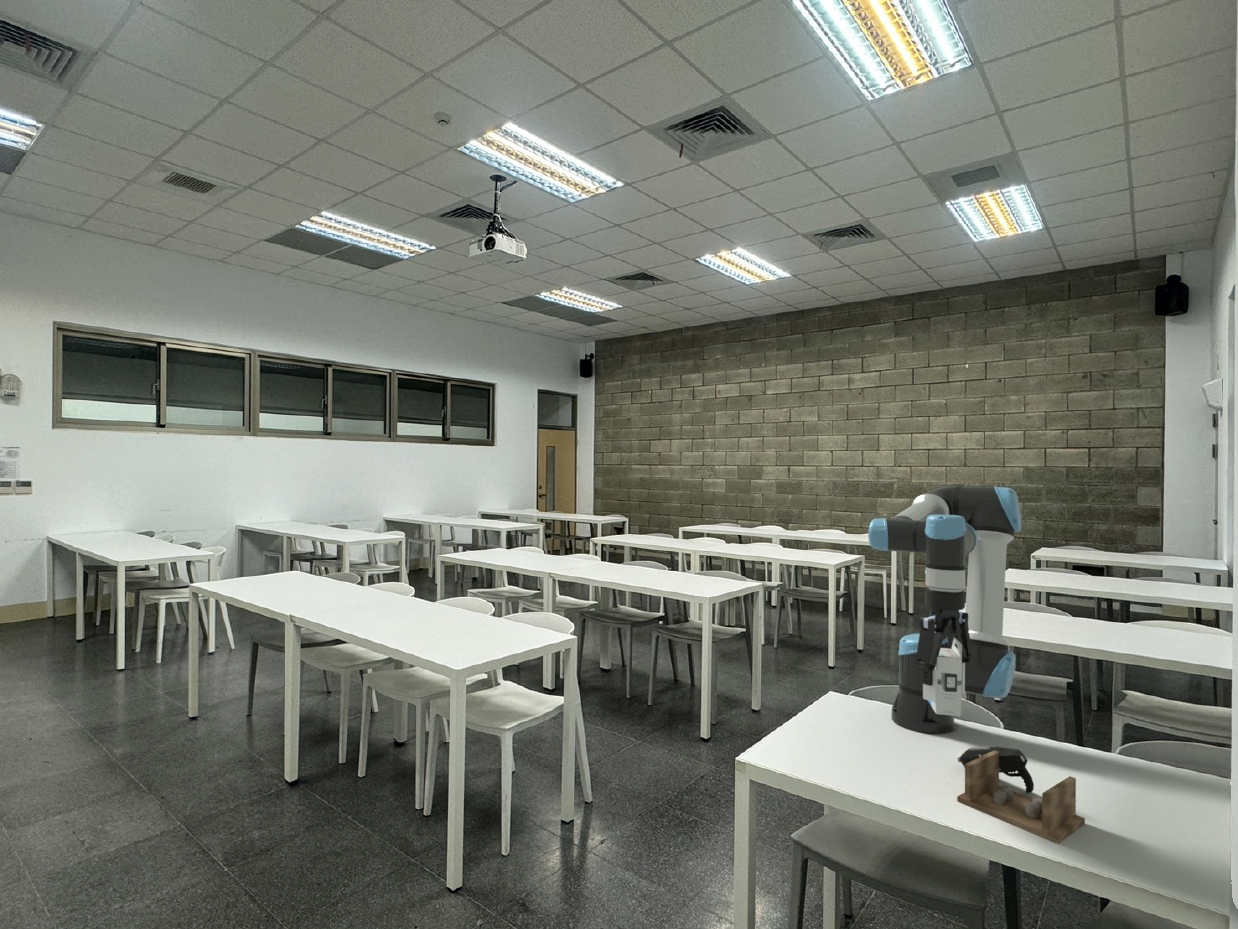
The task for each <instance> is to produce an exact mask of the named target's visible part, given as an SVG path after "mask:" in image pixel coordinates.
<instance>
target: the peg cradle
mask: <svg viewBox="0 0 1238 929" xmlns="http://www.w3.org/2000/svg"><path fill="white" fill-rule="evenodd" d="M1076 778H1077V777H1073V776H1071V775H1070V776H1068V777H1066V778H1065V779H1063V780H1061V781H1060V782H1058V783H1056V784H1055V785H1053V786H1052V787H1050V788H1048V789H1047V790H1045V791H1044V792H1042V793H1041V796H1042V797H1041V798H1038V797H1035V798H1033V797H1030V796H1028V795H1026V794H1023V793H1020V792H1017V791H1015V790H1014V789H1013V788H1012V787H1010V786H1008V785H1000V773H999V752H998V751H995V750H994V751H991V752H989V753H987V754H985V755H983V756H981V757H979V758H977V759H975V760H973V761H971V762H969V763H967V764H965V767H964V792H962V793H961V794H959V795H957V799H956V800H957V802H959V803H960V804H963V805H965V806H968V807H969V808H972V809H974V810H977V811H979V812H981V813H984V814H987V815H989V816H991V817H994V818H996V819H998V820H1000V821H1002V822H1005V823H1007V824H1010V825H1012V826H1015V827H1018V828H1020V829H1022V830H1024V831H1027V832H1029V833H1031V834H1033V835H1037V836H1038V837H1040V838H1044V839H1045V840H1048V841H1050V842H1052V843H1055V844H1059V843H1061V842H1062V841H1063V840H1065V839H1066V838H1067V837H1070V835H1071V834H1073V833H1074V832H1075V831H1077V830H1078V829H1080V828H1081V827H1082V826H1084V825H1085V823H1086V822H1085V821H1086V818H1085V817H1082V816H1080V815H1077V813H1076V812H1077V809H1076V808H1077V805H1076V804H1077V779H1076Z"/></svg>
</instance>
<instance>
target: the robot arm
mask: <svg viewBox="0 0 1238 929" xmlns="http://www.w3.org/2000/svg"><path fill="white" fill-rule="evenodd" d="M1021 531H1022V515H1021V508H1020V503H1019V497H1018V494H1017V492H1016V491H1015V490H1014V489H1013V488H1011V487H1002V486H1000V487H999V486H996V485H994V486H966V485H965V486H959V485H953V486H952V485H951V486H945V487H944V486H943V487H940V488H935V489H933V490H929V491H927V492H924V493H923V494H921V495H919V496H917V497H916V498H915V499H914V500H913V502H912V504H911V506H909V507H907V508H906V509H904V510H903V511H901V512H899V513H898V514H896V515H895V516H893V517H892V518H885V517H883V518H882V517H881V518H873V519H872V520H871V521H870V523H869V527H868V542H869V545H870V547H871V548H872V549H874V550H879V551H885V552H899V553H900V552H901V553H912V554H913V553H916V554H924V555H925V571H924V573H925V585H926V586H927V587H926V589H925V590H924V595H925V596H924V604H925V606H927V607H928V608H930V612H929V615H928V617H924V616H921V617H920V619H919V622H920V623H919V625H920V629H919V633H912V634H911V633H910V634H907V635H904V636H902V638H901V639H900V640H899V648H898V649H899V650H898V652H897V653H898V692H897V695H896V697H895V700H894V702H893V705H892V706H891V707H892V708H891V720H892V721H893V722H894V723H896V725H899V726H901V727H903V728H906V729H909V730H912V731H916V732H921V733H927V734H944V733H945V734H946V733H949V732H952V731H953V730H954V729H955V719H954V718H955V716H951V715H941V714H936V713H935V711H934V710H933V708H932V707H931V705H930V703H929V702H928V700H929V701H932V702H935V703H936V702H937V697H938V670H936V669H935V666H936V663H937V657H938V656H939V652H940V649H941V648H948V649H951V648H952V643H953V638H954V637H955V638H956V639H957V640H958V641H959V642H960V643H961V644H962V693H961V695H965V694H966V693H967V694H972V695H978V696H983V697H984V698H987V697H989V698H995V699H1003V698H1006V697H1007V696H1008V695H1009V692H1010V691H1011V687H1012V683H1013V680H1014V676H1015V672H1016V671H1015V670H1016V659H1017V658H1016V654H1015V653H1013V652H1012V651H1009V649H1010V645H1009V643H1008V642H1007V641H1006V640H1005V639H1004V637H1003V627H1004V608H1005V588H1006V587H1005V585H1006V569H1007V568H1006V566H1007V548H1008V547H1007V546H1008V544H1009V543H1010V542H1012V541H1014V539H1015V533H1018V532H1019V533H1020V532H1021ZM966 555H968V560H967V561H968V562H967V564H968V565H967V579H966ZM964 589H966V592H965V591H964ZM964 609H965V611H964V612H963V610H964ZM955 646H956V647H957V649H958V646H957V645H956V644H955ZM930 662H931V663H930Z"/></svg>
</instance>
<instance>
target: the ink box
mask: <svg viewBox="0 0 1238 929" xmlns="http://www.w3.org/2000/svg"><path fill="white" fill-rule="evenodd" d="M955 644H956V645H957V646H958V649H957V647H956V646H955ZM930 663H931V662H930ZM935 669H936V670H938V697H937V702H936V703H935V702H932V701H929V700H928V702H929V703H930V705H931V707H932V708H933V710H934V711H935V713H936V714H941V715H951V716H953V717H962V694H961V693H962V644H961V643H960V642H959V641H958V640H957V639H956V638H955V637H954V638H953V643H952V648H951V649H948V648H941V649H940V652H939V656H938V657H937V663H936V666H935Z"/></svg>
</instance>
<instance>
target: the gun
mask: <svg viewBox="0 0 1238 929" xmlns="http://www.w3.org/2000/svg"><path fill="white" fill-rule="evenodd" d="M994 750H995V751H998V752H999V774H1000V773H1003V774H1004V775H1006V776H1007V777H1011V778H1012V777H1013V778H1015V777H1016V778H1019V777H1020V778H1021V780H1023V783H1024V786H1025V793H1026V794H1027V793H1032V792H1033V791H1034V788H1035V784H1034V781H1033V777H1032V775H1031V773H1030V772H1029V770H1028V769H1027V767H1026V765H1027V763H1028V759H1027V758H1026V756H1025V755H1024V753H1023V752H1022V751H1021V750H1020V749H1018V748H1017V749H1016V748H1009V747H1001V746H991V745H990V746H973V747H971V746H970V748H967V749H966V750H965V751H964V752H963V753H962V754H961V755H960V756H959V757H957V758H956V759H957V760H956V761H957V762H958V763H961V764H962V766H963V768H965V764H967V763H969V762H971V761H973V760H975V759H977V758H979V757H981V756H983V755H985V754H987V753H989V752H991V751H994Z"/></svg>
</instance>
